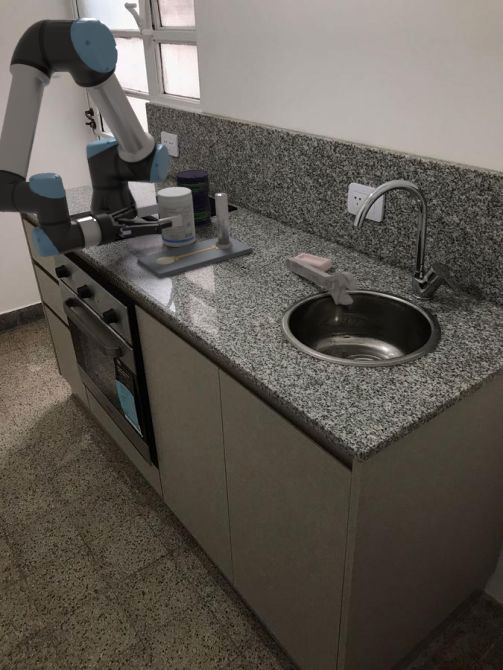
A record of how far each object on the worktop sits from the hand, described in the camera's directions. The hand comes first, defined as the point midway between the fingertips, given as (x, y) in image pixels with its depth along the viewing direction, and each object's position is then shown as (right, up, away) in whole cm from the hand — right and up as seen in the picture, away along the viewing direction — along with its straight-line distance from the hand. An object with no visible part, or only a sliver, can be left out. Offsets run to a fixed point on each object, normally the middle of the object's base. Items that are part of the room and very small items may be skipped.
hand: (169, 214), depth 153 cm
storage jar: (+5, +2, +21) cm, 22 cm away
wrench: (+38, -23, -23) cm, 50 cm away
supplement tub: (+2, -7, +6) cm, 9 cm away
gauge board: (+8, -13, -4) cm, 15 cm away
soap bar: (+38, -16, -12) cm, 43 cm away
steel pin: (+15, -9, -1) cm, 17 cm away
